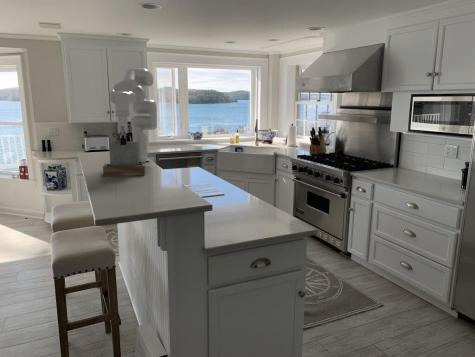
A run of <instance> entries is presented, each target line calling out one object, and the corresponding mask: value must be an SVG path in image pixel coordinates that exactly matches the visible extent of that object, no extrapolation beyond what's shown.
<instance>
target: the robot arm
mask: <svg viewBox="0 0 475 357" xmlns="http://www.w3.org/2000/svg"><path fill="white" fill-rule="evenodd" d="M153 84H154V76H153V74H152V72H150V70H149V69H147V68H145V67H144V68H139V67H133V68H132V67H131V68H128V69H127V70H126V73H125V75H124V78H123V80H120V81H119V82H117V83H115V84H114V85H113V86H112V88H111V90H110V93H109V100H110V102H111V103H112V104H113V105H114V107H115V117H117V134H118V135H120V138H119V141H120V145H126V142H128V135H127V134H128V128H129V127H128V126H129V125H128V117H130V105H132V112H134V114H139V115H133V116H132V117H131V118H130V127H131V134H132V141H137V142H138V163H139V162H141V163H147V162H146V161H149V160H150V158H148V136H147V134H146V133H145V131H153V130H156V129H157V125H158V115H157V114H158V113H157V112H158V111H157V110H158V108H157V103H156V101H155V100H154V99H146V91H145V89H144V88H143V87H152V86H153ZM142 114H143V115H142ZM144 114H145V115H144ZM126 138H127V139H126ZM149 162H150V161H149Z"/></svg>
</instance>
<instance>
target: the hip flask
mask: <svg viewBox="0 0 475 357" xmlns="http://www.w3.org/2000/svg"><path fill="white" fill-rule="evenodd" d="M126 139H127V140H128V137H127V138H126ZM108 143H109V144H108V146H109V148H108V149H109V164H110V166H139V162H138V142H137V141H133V140H132V141H127V142H126V145H120V140H114V141H108Z"/></svg>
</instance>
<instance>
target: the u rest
mask: <svg viewBox="0 0 475 357" xmlns="http://www.w3.org/2000/svg"><path fill="white" fill-rule="evenodd" d="M138 163H139V162H138ZM132 175H145V176H146V162H141V163H139V166H110V163H104V165H103V166H102V177H105V178H106V177H107V176H109V177H133V176H132Z"/></svg>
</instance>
